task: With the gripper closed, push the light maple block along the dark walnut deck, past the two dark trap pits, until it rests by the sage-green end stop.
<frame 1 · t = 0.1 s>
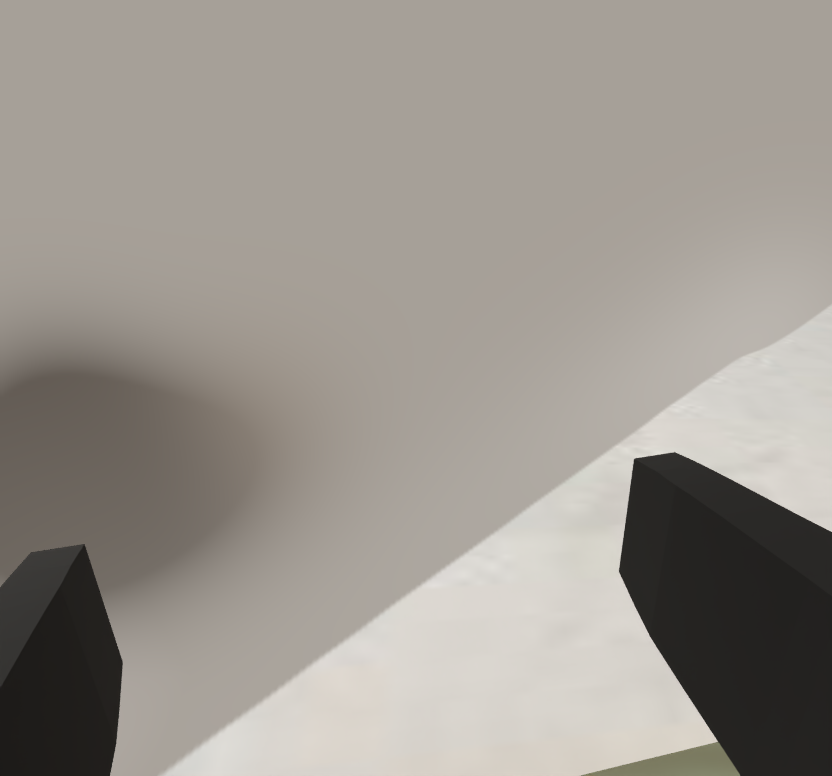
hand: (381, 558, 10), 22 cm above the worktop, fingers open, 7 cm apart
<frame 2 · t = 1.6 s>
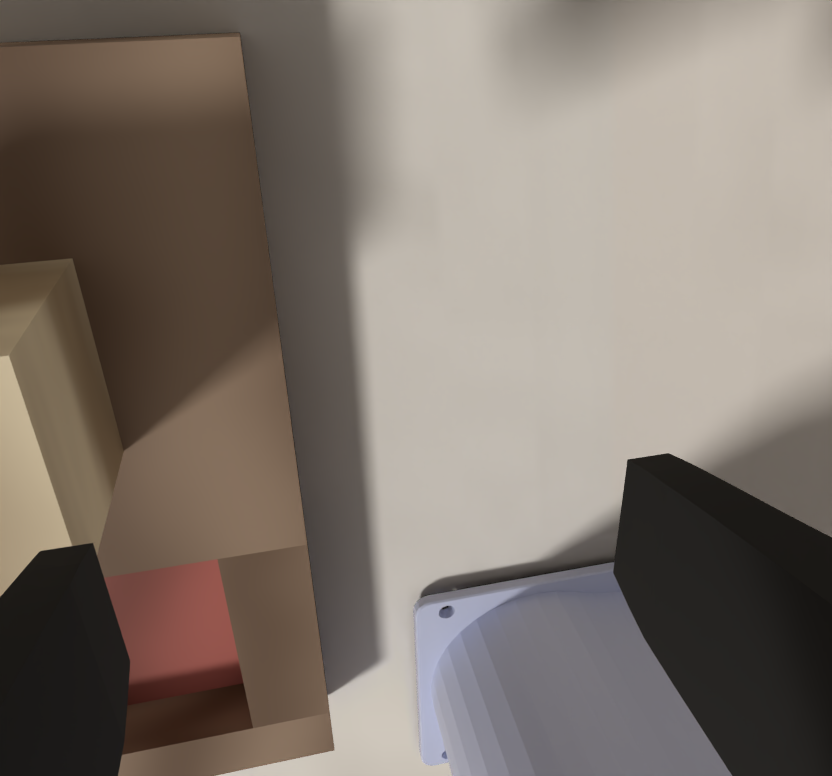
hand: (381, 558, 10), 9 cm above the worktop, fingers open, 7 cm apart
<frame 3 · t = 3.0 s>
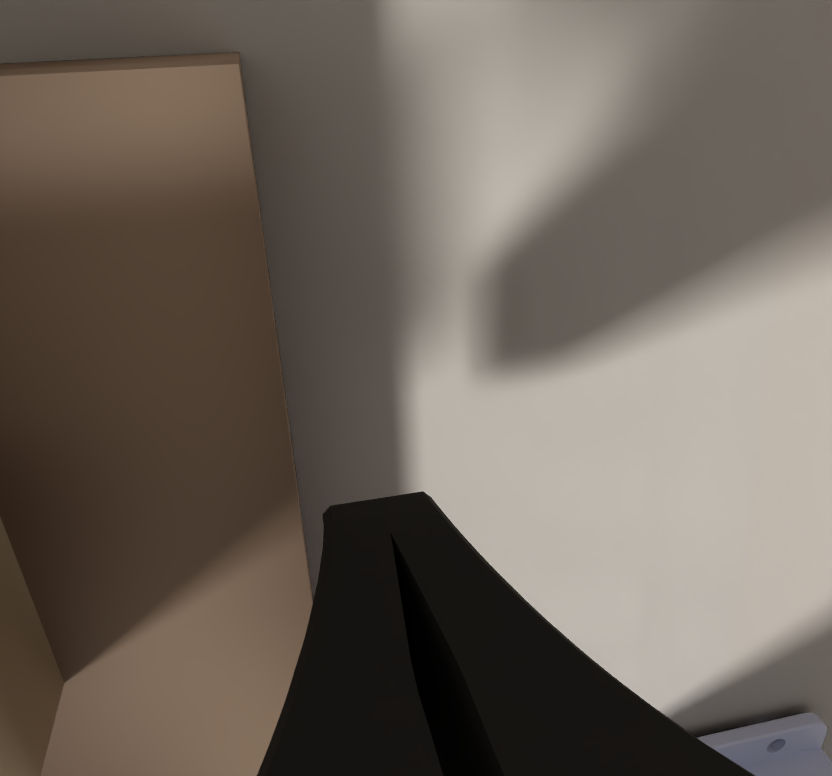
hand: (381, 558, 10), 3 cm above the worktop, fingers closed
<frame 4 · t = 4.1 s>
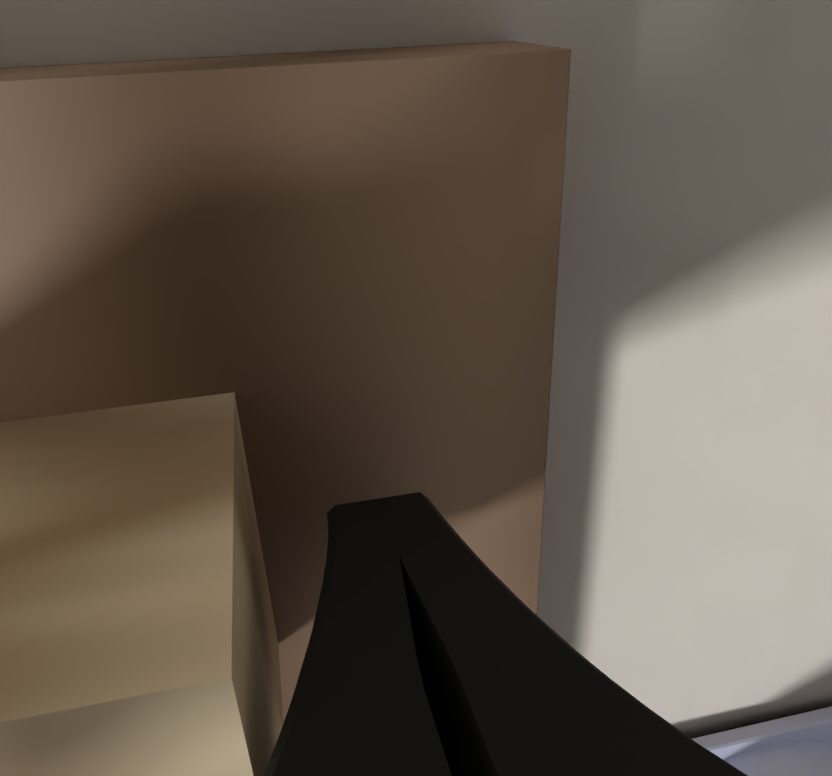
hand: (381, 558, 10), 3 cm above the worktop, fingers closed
maple block: (91, 558, 10), point 2 cm above the worktop, touching gripper
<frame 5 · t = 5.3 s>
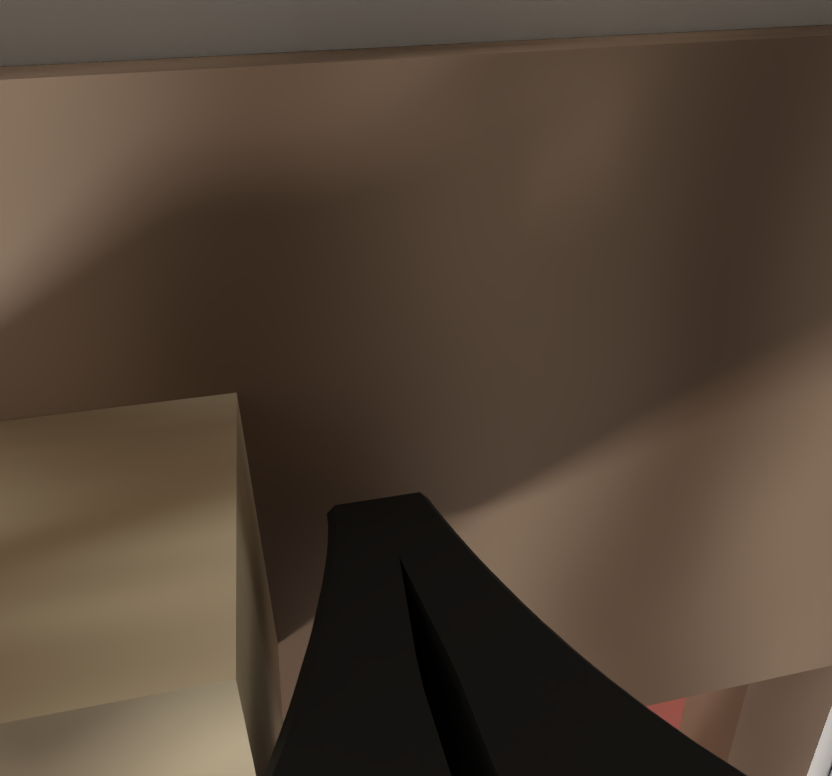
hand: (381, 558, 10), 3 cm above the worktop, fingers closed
trap deck: (318, 622, 14), on the worktop
maple block: (92, 557, 10), point 2 cm above the worktop, touching gripper, trap deck
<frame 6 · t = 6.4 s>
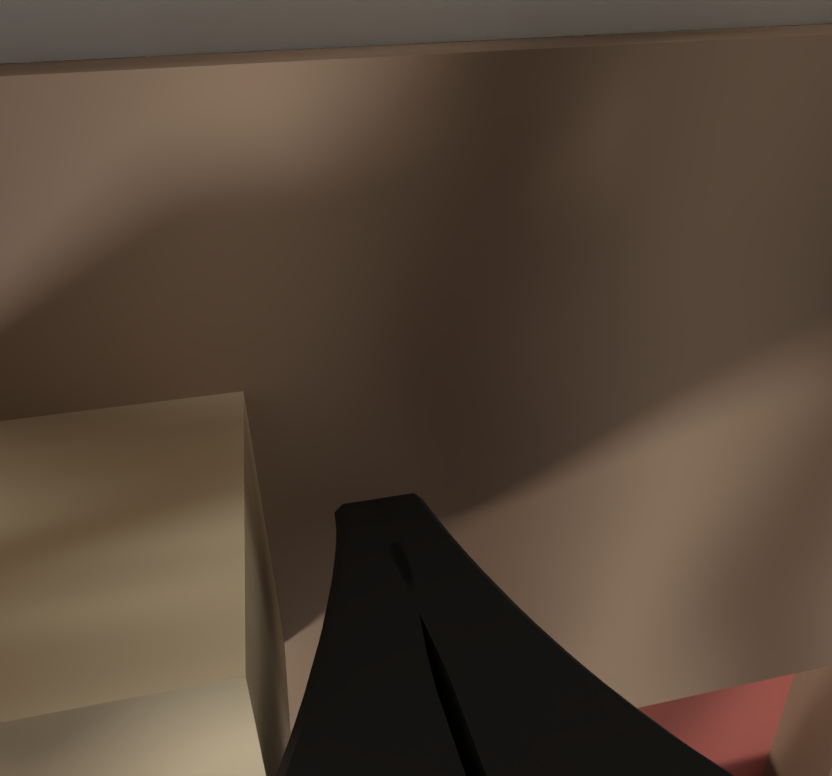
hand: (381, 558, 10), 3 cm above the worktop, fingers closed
trap deck: (463, 595, 14), on the worktop
maple block: (99, 556, 10), point 2 cm above the worktop, touching gripper, trap deck
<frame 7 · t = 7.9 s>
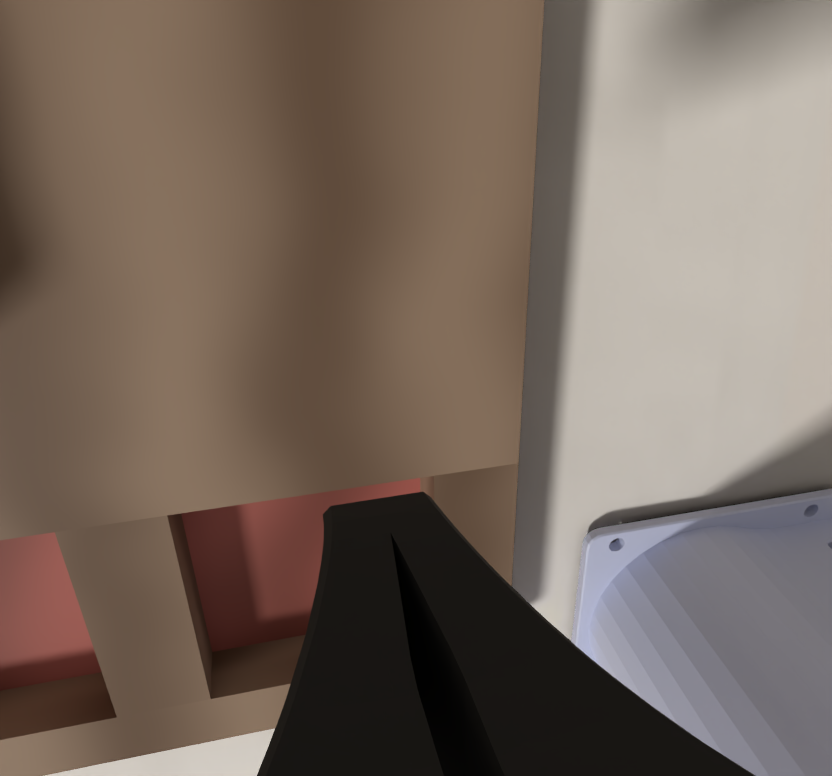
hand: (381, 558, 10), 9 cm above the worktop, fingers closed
trap deck: (85, 419, 18), on the worktop
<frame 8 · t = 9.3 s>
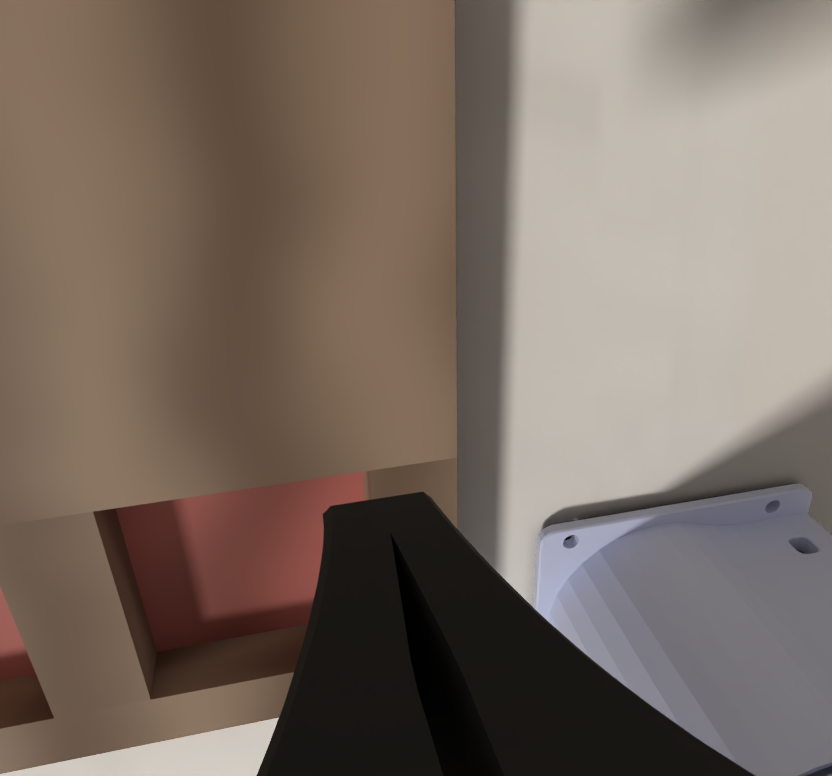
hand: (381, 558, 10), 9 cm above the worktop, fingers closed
trap deck: (13, 414, 17), on the worktop
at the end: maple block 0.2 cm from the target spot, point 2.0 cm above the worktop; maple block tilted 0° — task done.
